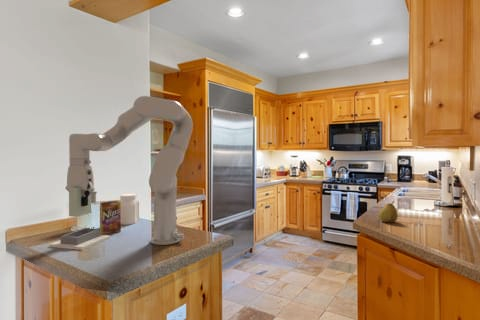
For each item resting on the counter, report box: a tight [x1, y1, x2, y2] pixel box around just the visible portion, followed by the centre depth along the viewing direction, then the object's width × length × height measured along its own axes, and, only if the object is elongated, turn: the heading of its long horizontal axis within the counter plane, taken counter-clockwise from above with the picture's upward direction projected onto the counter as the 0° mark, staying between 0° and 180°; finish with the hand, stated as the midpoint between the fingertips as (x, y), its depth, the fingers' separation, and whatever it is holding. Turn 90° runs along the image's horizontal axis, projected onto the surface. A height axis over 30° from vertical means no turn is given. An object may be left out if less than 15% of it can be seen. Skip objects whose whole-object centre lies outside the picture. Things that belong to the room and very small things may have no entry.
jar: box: [119, 193, 140, 226], centre depth 160 cm, size 12×10×15 cm
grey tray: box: [49, 227, 111, 251], centre depth 125 cm, size 16×16×4 cm
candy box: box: [99, 199, 122, 235], centre depth 140 cm, size 9×4×15 cm, turn 123°
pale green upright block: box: [68, 187, 92, 218], centre depth 125 cm, size 4×8×12 cm, turn 166°
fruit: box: [378, 200, 399, 224], centre depth 161 cm, size 9×9×12 cm
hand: (80, 205), depth 125 cm, fingers closed on pale green upright block, 4 cm apart
